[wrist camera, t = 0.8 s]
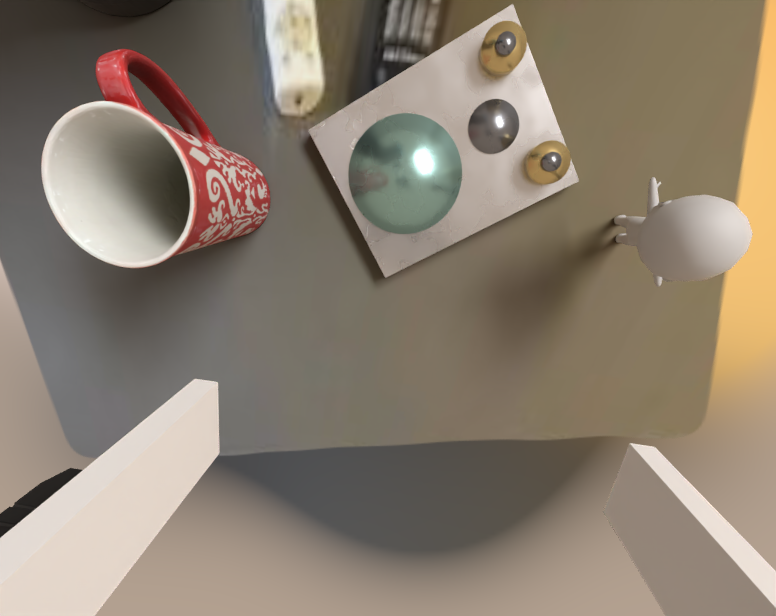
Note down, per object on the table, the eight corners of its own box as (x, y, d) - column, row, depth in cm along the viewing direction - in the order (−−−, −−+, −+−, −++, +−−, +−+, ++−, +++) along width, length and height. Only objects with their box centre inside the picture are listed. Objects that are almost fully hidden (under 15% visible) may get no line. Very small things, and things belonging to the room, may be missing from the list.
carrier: (312, 133, 31) (301, 125, 28) (508, 12, 28) (519, -11, 25) (386, 275, 34) (383, 281, 31) (572, 182, 30) (589, 179, 28)
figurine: (647, 268, 32) (778, 301, 20) (584, 281, 33) (677, 321, 21) (642, 175, 30) (783, 154, 18) (575, 191, 31) (671, 181, 19)
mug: (288, 243, 34) (208, 264, 21) (197, 248, 35) (66, 272, 22) (268, 94, 30) (158, 8, 18) (168, 103, 31) (-7, 28, 18)
